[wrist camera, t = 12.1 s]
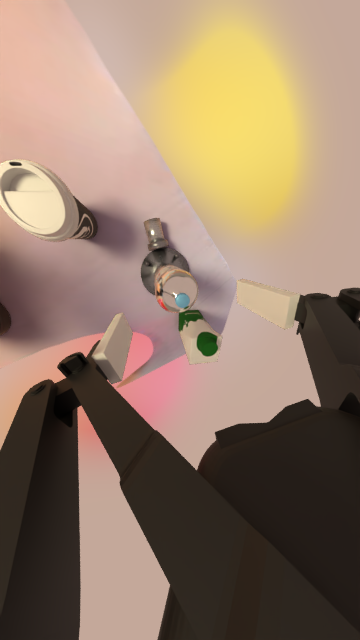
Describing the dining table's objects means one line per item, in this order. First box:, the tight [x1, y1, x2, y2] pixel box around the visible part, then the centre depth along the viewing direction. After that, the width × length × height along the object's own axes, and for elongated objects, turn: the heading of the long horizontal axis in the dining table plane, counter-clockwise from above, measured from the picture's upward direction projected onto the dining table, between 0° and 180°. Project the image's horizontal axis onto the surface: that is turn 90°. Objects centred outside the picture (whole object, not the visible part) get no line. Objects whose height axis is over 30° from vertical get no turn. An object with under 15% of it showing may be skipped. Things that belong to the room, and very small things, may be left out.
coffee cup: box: [0, 159, 97, 242], centre depth 25 cm, size 10×10×15 cm
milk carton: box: [179, 310, 222, 364], centre depth 39 cm, size 9×9×20 cm
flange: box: [141, 218, 189, 295], centre depth 36 cm, size 14×20×5 cm
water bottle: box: [154, 263, 198, 313], centre depth 28 cm, size 7×7×25 cm
